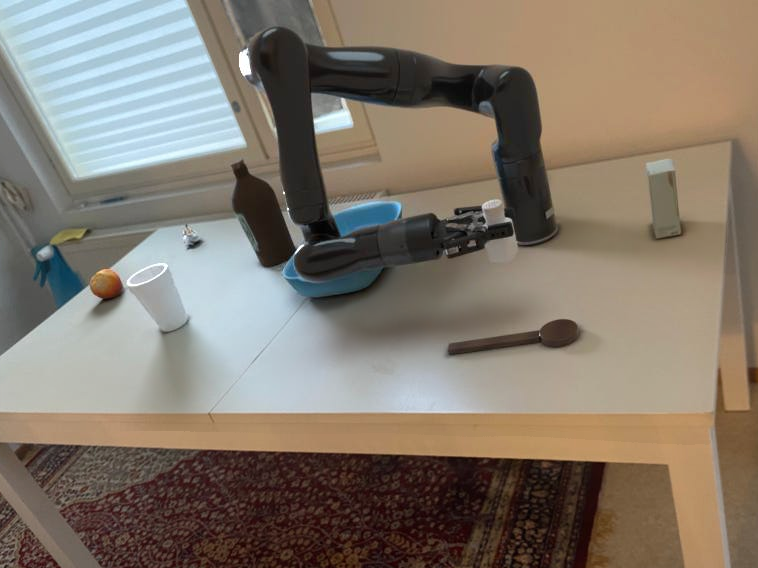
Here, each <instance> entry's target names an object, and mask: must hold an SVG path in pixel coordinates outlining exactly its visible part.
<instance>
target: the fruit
mask: <svg viewBox="0 0 758 568" xmlns="http://www.w3.org/2000/svg"><path fill="white" fill-rule="evenodd" d="M89 289H90V291H91V293H92V294H93V295H94V296H95V297H97V298H100V299H103V300H106V299H107V300H108V299H111V298H115V297H118V296H119V295H120V294H121V293H122V292H123V290H124V289H125V287H124V284H123V282H122V280H121V277H120V275H119V274H118V273H117V272H116V271H115V270H113V269H111V268H104V269H101V270H99V271H98V272H96V273H95V274H94V275H93V276H92V278H91V279H90V282H89Z"/></svg>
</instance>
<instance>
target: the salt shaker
mask: <svg viewBox="0 0 758 568" xmlns="http://www.w3.org/2000/svg"><path fill="white" fill-rule="evenodd" d="M481 206H482V210H483V214H484V218H485V220H486V223H485V224H484V225H483V226H486V227H488V226H489V225H494V224H499V223H505V222H511V223H512V226H513V222H512V219H510V218H507V217H505V215H504V204H503V200H501V199H491V200H487V201H485V202H484V203H483V204H482V205H481ZM487 229H488V228H487ZM513 230H514V227H513ZM484 246H485V250H486V251H485V252H486V255H487V259H488V261H489V262H490V263H507V264H508V263H510V262H512V260H513V259H514V258H515V257H516V255H518V252H519V245H517V241H516V236H515V232H514V234H513V236H511V237H506V238H501V239H495V240H490V242H489V243H487V244H484Z"/></svg>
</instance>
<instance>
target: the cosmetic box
mask: <svg viewBox="0 0 758 568" xmlns="http://www.w3.org/2000/svg"><path fill="white" fill-rule="evenodd" d="M645 166H646V167H645V168H646V176H647V177H646V178H647V183H648V193H649V200H650V202H649V203H650V211H651V217H652V226H653V231H654V236H655V238H656V239H663V238H668V237H673V236H679V235H681V234H682V228H681V219H680V209H679V208H680V207H679V197H678V187H677V177H676V168H675V164H674V161H673V160H672V158H670V157H669V158H665V159H659V160H655V161H649V162H646V163H645Z"/></svg>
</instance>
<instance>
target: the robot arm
mask: <svg viewBox="0 0 758 568" xmlns="http://www.w3.org/2000/svg"><path fill="white" fill-rule="evenodd" d="M238 62H239V68H240V71H241V73H242V76H244V78H245V80H246V81H247V82H248V84H250V86H252V88H255V89H256V90H258V91H259V92H262V93H265V94H266V98H267V100H268V103H269V106H270V109H271V113H272V116H273V121H274V125H275V126H274V127H275V131H276V138H277V139H276V141H277V155H278V156H277V157H278V171H279V179H280V184H281V189H282V192H283V198H284V202H285V206H286V210H287V215H288V217H289V220H290V222H291V223H292V224H293V225H294V226H296V227H299V229H300V231H301V234H302V237H303V241H304V240H305V243H304V244H303V245H301V244H300V245H301V246H300V245H299V246H298V248H297V249H298V250H297V249H296V253H295V255H294V259H293V266H294V269H295V271H296V273H297V274H298V275H299V276H300V277H301V278H302V279H304V280H306V281H308V282H312V283H322V282H327V281H331V280H335V279H338V278H341V277H344V276H347V275H350V274H353V273H356V272H359V271H363V270H371V269H377V268H388V267H400V266H402V267H403V266H408V265H413V264H418V263H419V264H420V263H425V262H430V261H435V260H440V259H441V258H442V257H443V256H444V251H445V255H446V259H448V260H452V259H455V258H458V257H461V256H465V255H469V254H472V253H475V252H479V251H481V250H484V249H486V247H485V244H487V243H489V242H490V240H495V239H501V238H506V237H511V236H513V234H514V232H515V236H516V241H517V245H518V246H533V245H537V244H542V243H544V242H546V241H548V240H550V239H552V238H554V236H555V235H556V234H557V233H558V231H559V226H558V224H557V219H556V214H555V213H556V212H555V206H554V204H553V198H552V194H551V189H550V188H551V187H550V184H549V178H548V174H547V173H548V172H547V169H546V168H547V167H546V163H545V162H546V161H545V158H544V153H543V148H542V143H541V139H542V133H543V123H542V116H541V109H540V108H541V107H540V101H539V95H538V91H537V86H536V83H535V80H534V77H533V76H532V73H530V72H529V71H528V70H527V69H526V68H524V67H522V66H519V65H518V66H517V65H509V64H508V65H507V64H459V63H452V62H448V61H445V60H442V59H440V58H437V57H434V56H433V55H429V54H426V53H422V52H419V51H415V50H410V49H404V48H398V47H391V46H378V45H350V46H349V45H348V46H324V45H317V44H312V43H308V42H305V41H304V40H303V39H302V37H301V36H300V35H299V34H298V33H297V32H296V31H295V30H293V29H291V28H290V27H286V26H282V25H274V26H273V25H272V26H270V27H266V28H264V29H262V30H260V31H257V32H256V33H254V34H253V35H252V36H250V37H249V38H248V39H247V40H246V42H245V43H244V44H243V45H242V48H241V50H240V53H239V61H238ZM312 94H319V95H327V96H332V97H336V98H339V99H340V98H341V99H346V100H349V101H352V102H353V101H354V102H359V103H364V104H370V105H376V106H381V107H387V108H396V109H397V108H398V109H410V110H414V109H415V110H419V109H420V110H421V109H431V108H443V107H444V108H452V109H456V110H457V109H458V110H462V111H466V112H470V113H473V114H477V115H480V116H482V117H486V118H489V119H494V124H495V129H496V134H497V138H496V139H494V141H493V142H492V143H491V145H490V153H491V157H492V161H493V166H494V170H495V174H496V178H497V182H498V187H499V191H500V196H501V199H502V200H501V201H502V203H503V209H504V215H505V217H507V218H510V219H512V222H513V226H512V223H511V222H505V223H499V224H494V225H489V226H488V227H486V226H483V225H484V224H485V223H486V220H485V218H484V214H483V210H482V205H474V206H463V207H455V208H454V209H453V211H452V212H453V215H451V216H448V217H447V218H444V219H439V218H438V216H437V215H436V214H435V213H434V212H426V213H422V214H416V215H413V216H407V217H402V219H397V220H393V221H390V222H387V223H384V224H381V225H375V226H370V227H365V228H361V229H358V230H355V231H353V232H351V233H349V234H347V235H345V236H342V237H341V234H340V232H339V229H338V227H337V224H336V222H335V219H334V217H333V214H332V211H331V209H330V201H329V197H328V196H329V195H328V192H327V187H326V182H325V179H324V173H323V169H322V165H321V160H320V154H319V149H318V142H317V136H316V129H315V120H314V112H313V111H314V110H313V100H312ZM513 227H514V230H513ZM487 228H488V229H487Z"/></svg>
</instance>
